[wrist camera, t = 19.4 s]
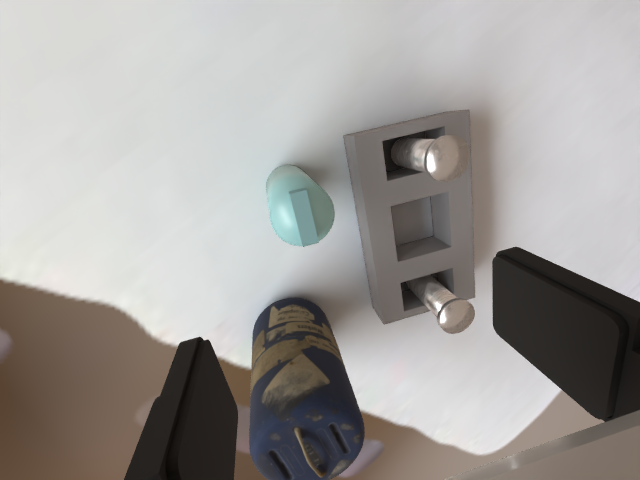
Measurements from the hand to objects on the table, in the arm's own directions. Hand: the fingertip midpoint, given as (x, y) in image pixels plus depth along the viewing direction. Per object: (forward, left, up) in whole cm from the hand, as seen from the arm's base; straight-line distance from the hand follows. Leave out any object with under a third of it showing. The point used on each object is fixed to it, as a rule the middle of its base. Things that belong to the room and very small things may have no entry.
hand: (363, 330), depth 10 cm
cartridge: (0, 0, -26) cm, 26 cm away
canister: (+17, -4, -26) cm, 32 cm away
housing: (+7, +13, -26) cm, 30 cm away
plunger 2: (+15, +13, -25) cm, 32 cm away
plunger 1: (-1, +13, -25) cm, 28 cm away
